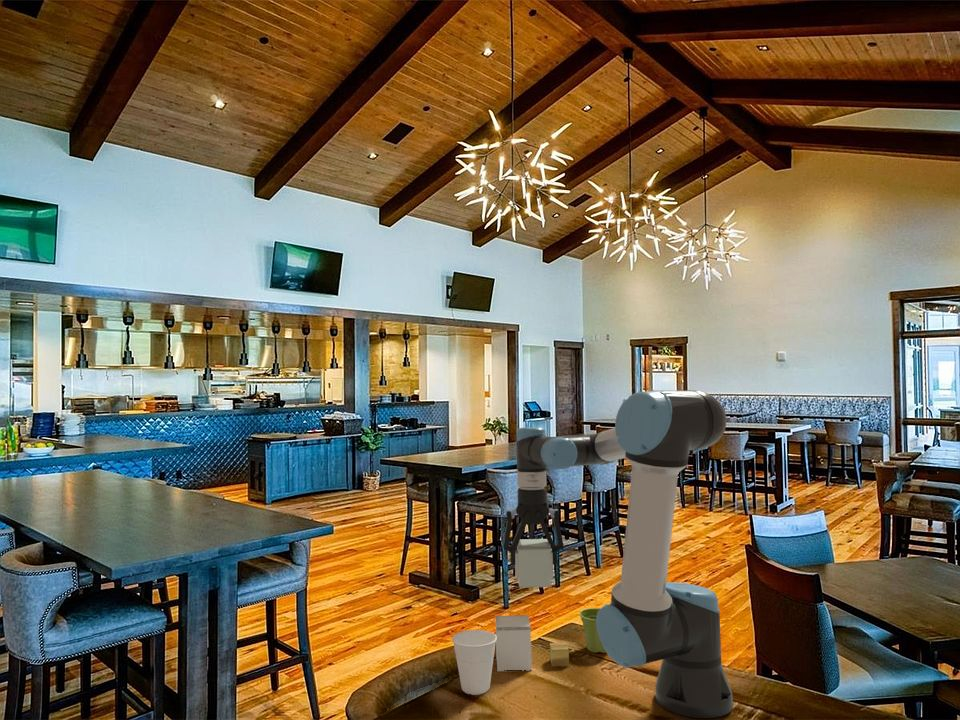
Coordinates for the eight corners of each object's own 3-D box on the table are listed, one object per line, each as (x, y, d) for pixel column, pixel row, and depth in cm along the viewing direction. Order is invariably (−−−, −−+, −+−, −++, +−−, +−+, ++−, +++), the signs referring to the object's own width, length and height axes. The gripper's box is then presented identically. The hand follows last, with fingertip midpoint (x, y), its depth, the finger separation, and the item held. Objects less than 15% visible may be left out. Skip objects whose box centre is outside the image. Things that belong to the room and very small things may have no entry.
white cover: (531, 670, 147) (530, 626, 147) (497, 671, 147) (496, 627, 147) (529, 656, 155) (527, 615, 155) (496, 657, 155) (495, 615, 155)
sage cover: (548, 577, 165) (547, 538, 165) (551, 586, 157) (550, 546, 157) (517, 578, 165) (516, 539, 165) (519, 587, 157) (518, 546, 157)
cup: (499, 679, 142) (498, 629, 143) (496, 700, 132) (495, 646, 133) (456, 679, 143) (455, 629, 144) (449, 699, 133) (448, 645, 134)
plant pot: (596, 639, 165) (595, 605, 166) (626, 649, 158) (624, 613, 159) (572, 648, 159) (571, 613, 160) (601, 659, 152) (600, 622, 153)
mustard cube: (569, 666, 149) (568, 649, 149) (552, 667, 149) (551, 649, 149) (566, 659, 153) (566, 642, 153) (550, 660, 153) (549, 643, 153)
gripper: (491, 490, 159) (493, 582, 157) (574, 489, 158) (577, 581, 157) (491, 486, 166) (493, 574, 165) (570, 484, 166) (572, 572, 164)
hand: (534, 577), depth 161 cm, fingers closed on sage cover, 8 cm apart
